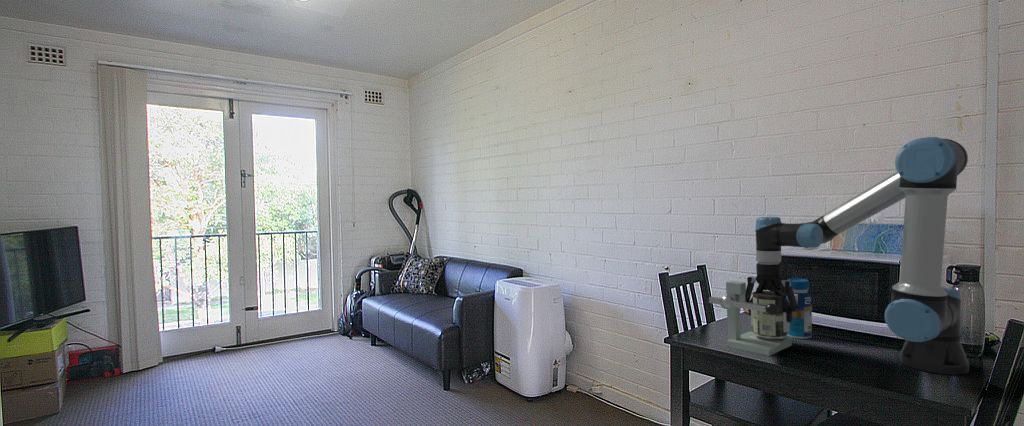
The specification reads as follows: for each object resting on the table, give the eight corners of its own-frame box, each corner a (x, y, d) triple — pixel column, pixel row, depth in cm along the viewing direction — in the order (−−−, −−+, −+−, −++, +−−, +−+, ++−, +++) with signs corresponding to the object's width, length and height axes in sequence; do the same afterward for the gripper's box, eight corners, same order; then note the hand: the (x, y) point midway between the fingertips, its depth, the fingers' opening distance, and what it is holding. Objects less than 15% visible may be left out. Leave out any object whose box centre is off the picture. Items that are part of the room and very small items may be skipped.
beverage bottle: (780, 332, 180) (780, 278, 179) (805, 332, 179) (804, 277, 178) (791, 339, 171) (790, 282, 171) (817, 339, 170) (816, 281, 170)
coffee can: (781, 330, 171) (780, 290, 171) (792, 339, 161) (791, 296, 161) (749, 330, 173) (748, 290, 173) (757, 338, 163) (757, 296, 163)
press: (793, 344, 166) (792, 281, 165) (769, 356, 155) (767, 288, 155) (749, 335, 178) (748, 276, 177) (723, 345, 167) (722, 283, 166)
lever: (780, 315, 154) (780, 302, 154) (774, 317, 152) (774, 304, 151) (713, 304, 171) (713, 293, 171) (707, 306, 169) (707, 294, 169)
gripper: (810, 264, 160) (811, 332, 160) (741, 258, 177) (742, 320, 178) (799, 267, 155) (801, 337, 156) (730, 261, 173) (732, 324, 174)
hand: (769, 328), depth 167 cm, fingers closed on coffee can, 10 cm apart
